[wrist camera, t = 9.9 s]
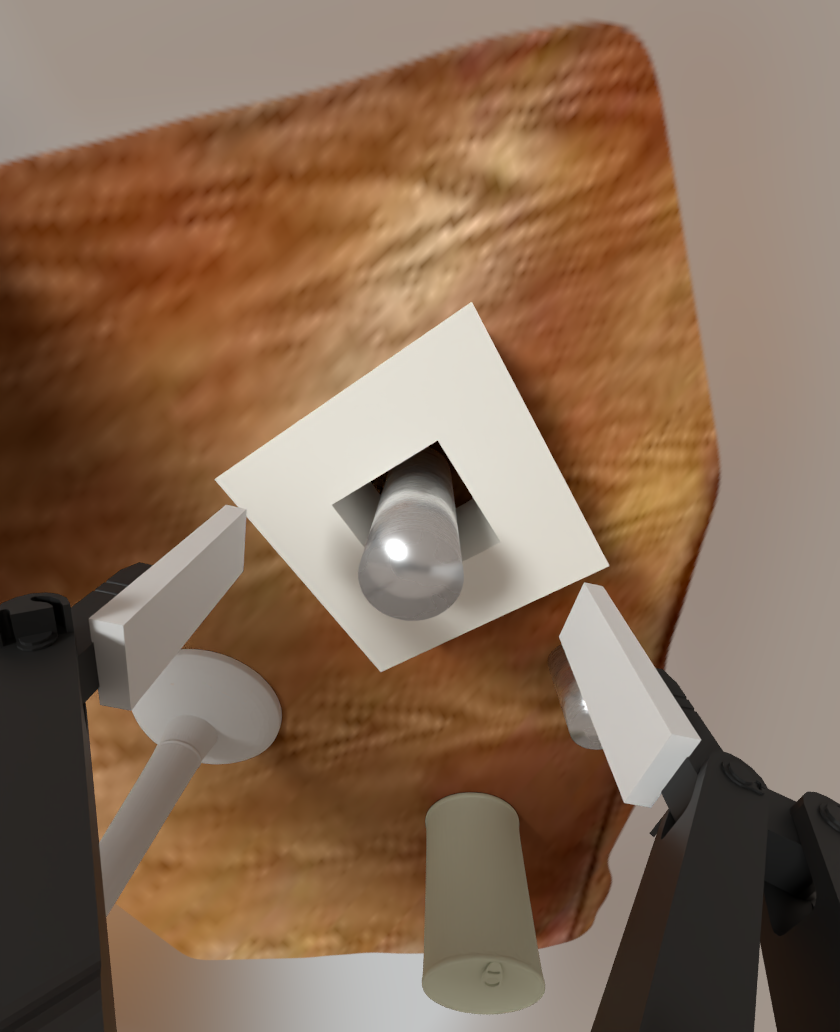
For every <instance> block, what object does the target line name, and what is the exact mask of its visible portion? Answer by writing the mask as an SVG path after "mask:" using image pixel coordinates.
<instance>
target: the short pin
mask: <svg viewBox="0 0 840 1032" xmlns="http://www.w3.org/2000/svg"><path fill="white" fill-rule="evenodd" d="M548 668H549V671H550V674H551V677H552V680H553V683H554V686H555V689H556V693H557V696H558V699H559V702H560V705H561V708H562V711H563V714H564V717H565V720H566V723H567V726H568V729H569V732H570V735H571V738H572V739H573V740H574V742H576V743H577V744H578V745H580V746H582V747H584V748H588V749H596V750H599V749H603V748H602V745H601V743H600V740H599V737H598V735H597V732H596V730H595V727H594V725H593V722H592V720H591V717H590V715H589V712H588V710H587V707H586V704H585V702H584V699H583V697H582V694H581V692H580V689H579V687H578V684H577V682H576V679H575V676H574V674H573V671H572V669H571V666H570V664H569V661H568V659H567V656H566V654H565V651H564V648H563V646H562V645H560V646H558V647H557V648H555V649H554V650H553V651H552V652H551V654H550V655H549V658H548Z"/></svg>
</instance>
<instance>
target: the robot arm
mask: <svg viewBox="0 0 840 1032" xmlns="http://www.w3.org/2000/svg"><path fill="white" fill-rule="evenodd" d="M246 512H247V509H243V508H239V507H234V506H229V505H225V506H224V507H223V508H221V509H220V510H219V511H218V512H217V513H215V514H214V515H213V516H212V517H211V518H209V519H208V520H207V521H206V522H205V523H203V524H202V525H201V526H200V527H199V528H197V529H196V530H195V531H194V532H192V533H191V534H190V535H189V536H188V537H186V538H185V539H184V540H183V541H182V542H180V543H179V544H178V545H177V546H176V547H174V548H173V549H172V550H171V551H170V552H168V553H167V554H166V555H165V556H164V557H162V558H161V559H160V560H159V561H158V562H156V563H155V564H154V565H149V564H144V563H140V562H139V563H137V564H134V565H132V566H129V567H127V568H124V569H122V570H120V571H119V572H117V573H116V574H115V575H113V576H112V577H111V578H109V579H108V580H107V582H106V583H103V584H102V585H100V586H99V587H98V588H96V590H95V591H92V592H91V593H90V594H88V595H87V596H86V597H84V598H83V599H82V600H80V601H79V602H78V603H76V604H75V605H74V606H73V607H70V603H69V601H68V599H67V598H66V597H64V596H61V595H59V594H54V593H33V594H28V595H24V596H20V597H16V598H13V599H11V600H9V601H6V602H4V603H2V604H1V605H0V1032H117V1029H116V1019H115V1008H114V997H113V987H112V976H111V966H110V955H109V945H108V933H107V923H106V912H105V901H104V890H103V880H102V869H101V858H100V848H99V837H98V826H97V816H96V805H95V794H94V784H93V773H92V762H91V752H90V741H89V730H88V720H87V709H86V703H85V702H86V701H87V700H88V699H89V697H90V696H91V695H92V694H93V693H94V692H95V691H96V690H97V689H98V692H99V699H100V705H104V706H109V707H114V708H120V709H125V710H130V711H131V710H132V709H133V708H134V706H135V705H136V704H137V703H138V701H139V700H140V699H141V698H142V696H143V695H144V694H145V693H146V691H147V690H148V689H149V688H150V687H151V685H152V684H153V683H154V682H155V680H156V679H157V678H158V677H159V675H160V674H161V673H162V672H163V670H164V669H165V668H166V667H167V665H168V664H169V663H170V662H171V660H172V659H173V658H174V657H175V655H176V654H177V653H178V652H179V650H180V649H181V648H182V647H183V645H184V644H185V643H186V642H187V640H188V639H189V638H190V637H191V636H192V634H193V633H194V632H195V631H196V629H197V628H198V627H199V626H200V624H201V623H202V622H203V621H204V619H205V618H206V617H207V616H208V614H209V613H210V612H211V611H212V609H213V608H214V607H215V606H216V604H217V603H218V602H219V601H220V599H221V598H222V597H223V596H224V594H225V593H226V592H227V591H228V589H229V588H230V587H231V586H232V585H233V583H234V582H235V581H236V580H237V578H238V577H239V576H240V575H241V573H242V572H243V567H244V549H245V530H246ZM559 638H560V641H561V643H562V646H563V648H564V651H565V654H566V656H567V659H568V661H569V664H570V666H571V669H572V671H573V674H574V676H575V679H576V682H577V684H578V687H579V689H580V692H581V694H582V697H583V699H584V702H585V704H586V707H587V710H588V712H589V715H590V717H591V720H592V722H593V725H594V727H595V730H596V732H597V735H598V737H599V740H600V743H601V745H602V748H603V750H604V753H605V755H606V758H607V760H608V763H609V765H610V768H611V771H612V773H613V776H614V778H615V781H616V783H617V786H618V788H619V791H620V793H621V796H622V799H623V801H624V803H628V804H633V805H639V806H644V807H649V808H651V807H652V806H653V804H654V803H655V802H656V800H657V799H658V798H659V796H660V795H661V794H662V795H663V797H664V799H665V801H666V803H667V805H668V808H669V809H668V810H667V811H666V813H665V814H664V816H663V817H662V818H661V819H660V821H659V822H658V823H657V824H656V826H655V827H654V829H653V830H652V831H651V832H650V834H651V835H652V836H653V837H654V836H655V835H656V834H657V835H656V838H655V841H654V844H653V847H652V850H651V853H650V856H649V859H648V862H647V865H646V868H645V871H644V874H643V877H642V880H641V883H640V886H639V889H638V892H637V895H636V898H635V901H634V904H633V907H632V910H631V913H630V916H629V919H628V922H627V925H626V928H625V931H624V934H623V937H622V940H621V943H620V946H619V949H618V952H617V955H616V958H615V961H614V964H613V967H612V970H611V973H610V976H609V979H608V982H607V985H606V988H605V991H604V994H603V997H602V1000H601V1003H600V1006H599V1008H598V1012H597V1015H596V1018H595V1021H594V1023H593V1026H592V1029H591V1032H754V1021H755V1007H756V992H757V977H758V963H759V948H760V944H761V949H762V954H763V959H764V964H765V970H766V975H767V980H768V986H769V991H770V996H771V1001H772V1007H773V1012H774V1017H775V1022H776V1027H777V1032H840V804H838V803H837V802H835V801H833V800H832V799H830V798H828V797H826V796H824V795H821V794H819V793H817V792H806V793H805V794H804V795H803V796H802V797H801V798H800V799H799V800H798V801H797V802H796V801H793V800H791V799H789V798H787V797H785V796H782V795H780V794H778V793H776V792H774V791H772V790H769V789H768V788H767V786H766V785H765V783H764V781H763V780H762V778H761V777H760V776H759V775H758V774H757V773H756V772H755V771H754V770H753V769H752V768H751V767H750V766H748V765H747V764H746V763H744V762H743V761H742V760H741V759H739V758H737V757H735V756H733V755H731V754H729V753H726V752H723V750H722V749H721V748H720V746H719V745H718V743H717V742H716V740H715V739H714V737H713V736H712V734H711V733H710V731H709V730H708V728H707V727H706V725H705V724H704V722H703V721H702V720H701V718H700V716H699V715H698V714H697V712H695V711H694V708H693V706H692V705H691V703H690V702H689V700H687V699H686V696H685V694H684V693H683V691H682V690H681V689H680V687H679V685H678V684H677V683H676V682H675V681H674V680H673V679H672V678H671V677H670V676H669V675H668V674H667V673H666V672H665V671H664V670H663V669H658V668H655V667H654V665H653V664H652V662H651V661H650V659H649V657H648V656H647V654H646V653H645V651H644V650H643V648H642V647H641V645H640V643H639V642H638V640H637V639H636V637H635V636H634V634H633V632H632V631H631V629H630V628H629V626H628V625H627V623H626V622H625V620H624V618H623V617H622V615H621V614H620V612H619V611H618V609H617V608H616V606H615V604H614V603H613V601H612V600H611V598H610V597H609V595H608V593H607V592H606V590H605V589H604V587H603V586H599V585H594V584H590V583H585V582H584V584H583V586H582V588H581V590H580V592H579V594H578V597H577V599H576V601H575V603H574V605H573V607H572V610H571V612H570V614H569V616H568V618H567V620H566V623H565V625H564V627H563V629H562V631H561V633H560V636H559Z"/></svg>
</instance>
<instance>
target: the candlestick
mask: <svg viewBox="0 0 840 1032" xmlns="http://www.w3.org/2000/svg"><path fill="white" fill-rule="evenodd" d="M132 712H133V714H134V716H135V718H136V720H137V722H138V724H139V725H140V727H141V728H142V730H143V731H144V732H145V733H146V734H147V735H148V737H149V738H151V739H152V740H153V741H154V742H155V743H156V744H158V745H157V746H156V748H155V751H154V753H153V754H152V756H151V758H150V759H149V761H148V763H147V765H146V766H145V768H144V770H143V771H142V773H141V775H140V776H139V778H138V780H137V781H136V783H135V785H134V786H133V788H132V790H131V791H130V793H129V794H128V796H127V798H126V799H125V801H124V803H123V804H122V806H121V808H120V809H119V811H118V813H117V814H116V816H115V818H114V819H113V821H112V823H111V824H110V826H109V828H108V829H107V831H106V832H105V834H104V836H103V837H102V839H101V841H100V842H99V848H100V858H101V869H102V880H103V890H104V901H105V912H106V917H107V915H108V914H109V912H110V911H111V909H112V907H113V906H114V904H115V902H116V901H117V899H118V897H119V896H120V894H121V893H122V891H123V889H124V888H125V886H126V884H127V883H128V881H129V879H130V878H131V876H132V874H133V873H134V871H135V870H136V868H137V866H138V865H139V863H140V861H141V860H142V858H143V856H144V855H145V853H146V852H147V850H148V848H149V847H150V845H151V843H152V842H153V840H154V838H155V837H156V835H157V833H158V832H159V830H160V829H161V827H162V825H163V824H164V822H165V820H166V819H167V817H168V815H169V814H170V812H171V810H172V809H173V807H174V806H175V804H176V802H177V801H178V799H179V797H180V796H181V794H182V792H183V791H184V789H185V788H186V786H187V784H188V783H189V781H190V780H191V778H192V776H193V775H194V773H195V772H196V770H197V768H199V766H200V765H201V763H206V764H229V763H235V762H240V761H244V760H247V759H250V758H252V757H255V756H257V755H259V754H260V753H262V752H263V751H265V750H266V749H267V748H268V747H269V746H270V745H271V744H272V743H273V741H274V740H275V738H276V736H277V734H278V732H279V729H280V726H281V722H282V711H281V706H280V703H279V700H278V698H277V696H276V694H275V692H274V691H273V689H272V688H271V686H270V685H269V684H268V683H267V682H266V681H265V680H264V679H263V678H262V677H261V676H260V675H259V674H258V673H257V672H255V671H254V670H253V669H251V668H250V667H248V666H247V665H245V664H243V663H241V662H240V661H238V660H235V659H233V658H231V657H228V656H226V655H223V654H219V653H216V652H212V651H206V650H199V649H180V650H179V652H178V653H177V654H176V655H175V657H174V658H173V659H172V660H171V662H170V663H169V664H168V665H167V667H166V668H165V669H164V670H163V672H162V673H161V674H160V675H159V677H158V678H157V679H156V680H155V682H154V683H153V684H152V685H151V687H150V688H149V689H148V690H147V691H146V693H145V694H144V695H143V696H142V698H141V699H140V700H139V701H138V703H137V704H136V705H135V706H134V708H133V709H132Z"/></svg>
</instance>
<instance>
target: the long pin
mask: <svg viewBox="0 0 840 1032" xmlns="http://www.w3.org/2000/svg"><path fill="white" fill-rule="evenodd" d="M358 579H359V585H360V588H361V590H362V592H363V594H364V596H365V597H366V599H367V600H368V601H369V603H370V604H371V605H372V606H373V607H375V608H376V609H377V610H379V611H380V612H382V613H383V614H385V615H387V616H390V617H392V618H396V619H400V620H406V621H419V620H425V619H429V618H432V617H435V616H437V615H439V614H441V613H443V612H444V611H446V610H447V609H448V608H449V607H450V606H452V605H453V603H454V602H455V601H456V600H457V598H458V596H459V595H460V592H461V590H462V587H463V582H464V572H463V564H462V556H461V548H460V540H459V532H458V525H457V517H456V509H455V501H454V493H453V485H452V478H451V471H450V467H449V464H448V462H447V461H446V459H445V458H444V457H443V456H442V455H441V454H440V453H439V452H438V451H436V450H434V449H432V448H429V447H426V448H424V449H423V450H421V451H420V452H418V453H416V454H415V455H413V456H411V457H410V458H408V459H406V460H405V461H403V462H401V463H400V464H398V465H397V466H395V467H393V468H392V469H390V470H389V472H388V475H387V478H386V482H385V485H384V488H383V491H382V494H381V498H380V501H379V504H378V507H377V510H376V513H375V517H374V520H373V523H372V526H371V529H370V532H369V536H368V539H367V542H366V545H365V548H364V552H363V555H362V558H361V561H360V565H359V570H358Z"/></svg>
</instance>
